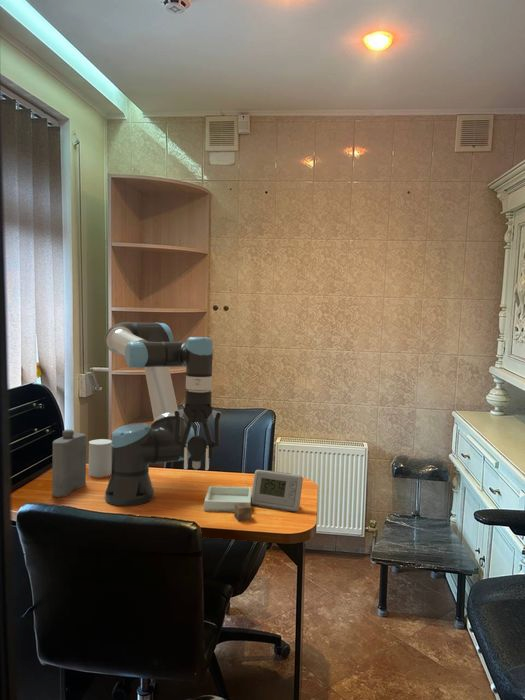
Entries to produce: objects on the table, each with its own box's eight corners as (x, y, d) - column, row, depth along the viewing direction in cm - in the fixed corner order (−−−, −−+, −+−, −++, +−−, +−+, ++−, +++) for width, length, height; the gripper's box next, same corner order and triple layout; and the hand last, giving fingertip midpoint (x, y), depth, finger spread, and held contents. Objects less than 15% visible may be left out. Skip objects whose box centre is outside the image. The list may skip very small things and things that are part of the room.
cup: (106, 469, 197) (106, 438, 196) (115, 474, 191) (115, 442, 190) (84, 473, 192) (85, 441, 191) (93, 478, 186) (94, 445, 185)
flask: (73, 482, 181) (73, 425, 180) (88, 483, 180) (89, 426, 179) (46, 496, 167) (47, 434, 165) (62, 498, 165) (63, 436, 164)
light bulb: (207, 467, 155) (208, 434, 155) (203, 473, 150) (204, 438, 149) (189, 466, 156) (190, 433, 155) (184, 471, 150) (185, 437, 150)
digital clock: (247, 505, 165) (248, 472, 164) (262, 497, 172) (263, 465, 172) (292, 516, 156) (293, 481, 156) (306, 507, 164) (307, 474, 163)
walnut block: (238, 522, 151) (238, 508, 151) (234, 516, 155) (234, 503, 154) (251, 520, 152) (251, 507, 152) (247, 515, 156) (247, 502, 156)
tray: (204, 510, 158) (204, 501, 158) (208, 495, 172) (209, 486, 172) (250, 512, 158) (250, 502, 158) (251, 496, 172) (251, 487, 172)
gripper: (164, 391, 147) (162, 471, 149) (229, 393, 147) (227, 473, 149) (169, 387, 155) (167, 463, 156) (231, 389, 155) (228, 466, 156)
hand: (196, 468), depth 153 cm, fingers closed on light bulb, 5 cm apart
